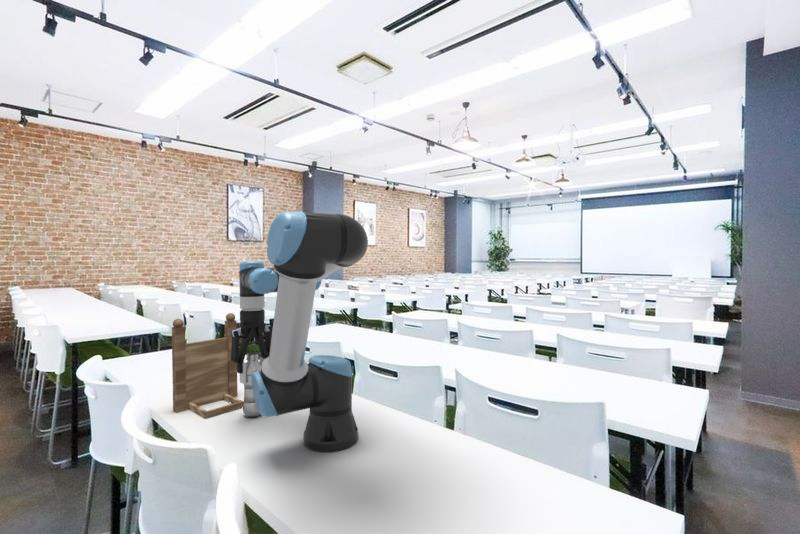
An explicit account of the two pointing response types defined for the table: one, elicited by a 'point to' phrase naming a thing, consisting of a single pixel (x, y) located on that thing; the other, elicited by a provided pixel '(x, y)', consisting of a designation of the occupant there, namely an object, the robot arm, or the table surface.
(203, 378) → the headboard holder
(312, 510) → the table surface
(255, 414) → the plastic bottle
